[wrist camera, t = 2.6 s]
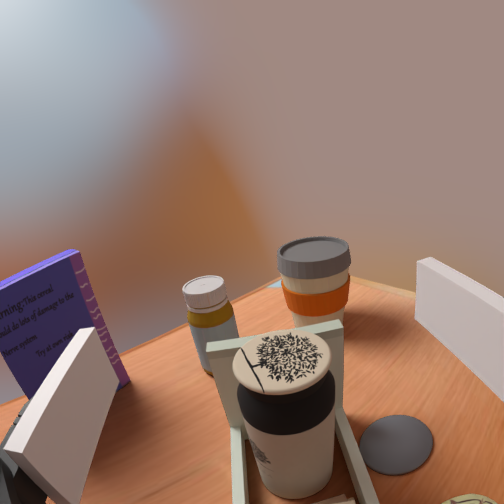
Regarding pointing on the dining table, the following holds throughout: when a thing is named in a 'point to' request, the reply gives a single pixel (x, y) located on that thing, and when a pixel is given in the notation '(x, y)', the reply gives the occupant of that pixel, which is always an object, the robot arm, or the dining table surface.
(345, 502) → the offcut stack
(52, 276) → the purple rectangular box
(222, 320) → the bottle
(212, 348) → the rack
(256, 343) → the travel mug
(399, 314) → the dining table surface
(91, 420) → the robot arm
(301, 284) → the reusable coffee cup
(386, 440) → the coaster
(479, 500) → the decorated donut
